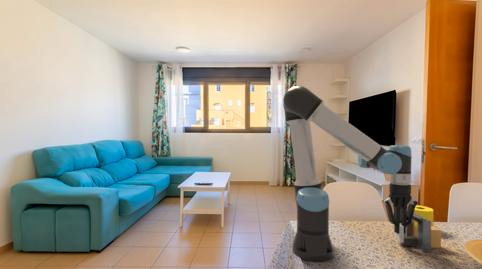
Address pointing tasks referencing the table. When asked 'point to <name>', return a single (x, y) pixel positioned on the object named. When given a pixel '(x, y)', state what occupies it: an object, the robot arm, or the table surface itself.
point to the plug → (414, 240)
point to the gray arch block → (421, 232)
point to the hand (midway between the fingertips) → (399, 241)
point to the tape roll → (424, 213)
